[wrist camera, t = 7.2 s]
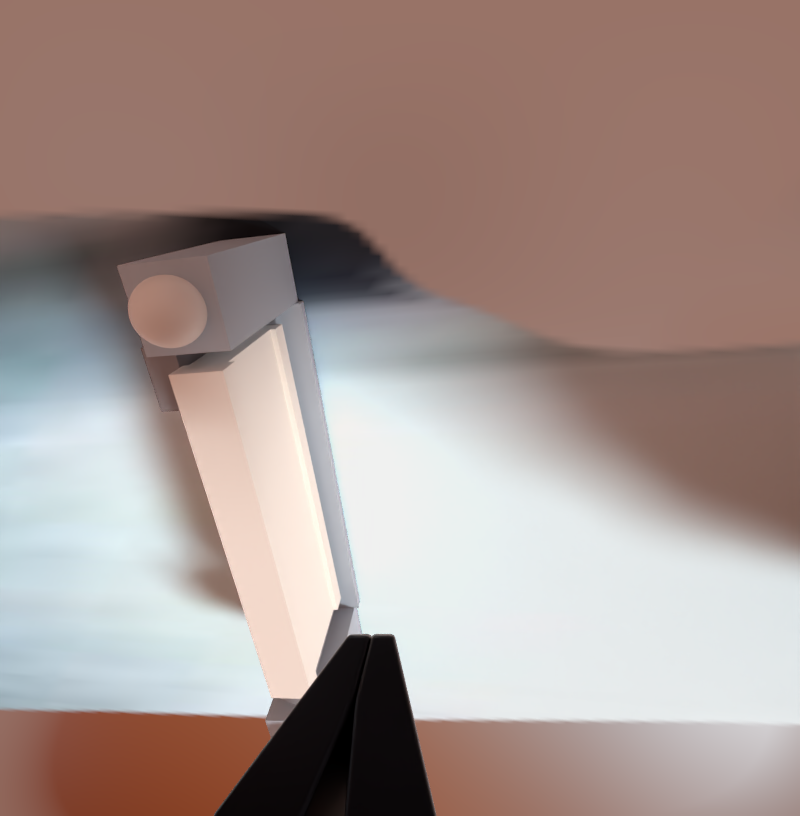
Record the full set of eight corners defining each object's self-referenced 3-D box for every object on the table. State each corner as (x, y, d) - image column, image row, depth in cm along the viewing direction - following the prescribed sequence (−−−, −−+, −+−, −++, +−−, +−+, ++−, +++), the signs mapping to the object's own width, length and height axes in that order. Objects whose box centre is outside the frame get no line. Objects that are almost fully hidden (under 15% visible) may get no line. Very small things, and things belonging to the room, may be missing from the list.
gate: (283, 322, 18) (222, 370, 14) (344, 604, 24) (315, 709, 19) (242, 326, 18) (168, 375, 14) (311, 604, 24) (274, 708, 19)
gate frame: (290, 232, 18) (190, 261, 11) (366, 637, 25) (334, 796, 19) (199, 243, 18) (52, 276, 11) (301, 637, 26) (248, 792, 19)
